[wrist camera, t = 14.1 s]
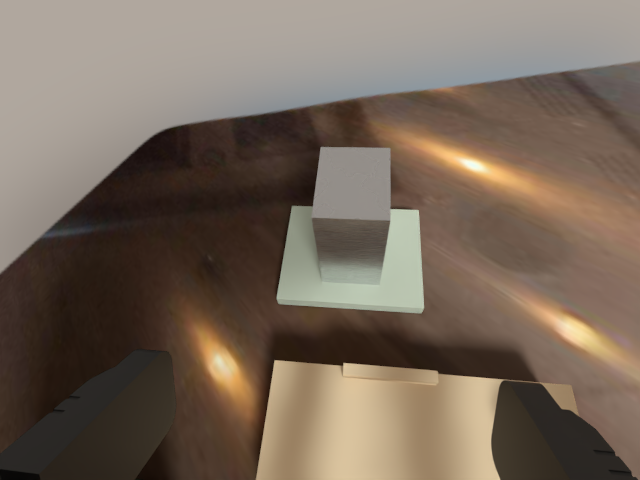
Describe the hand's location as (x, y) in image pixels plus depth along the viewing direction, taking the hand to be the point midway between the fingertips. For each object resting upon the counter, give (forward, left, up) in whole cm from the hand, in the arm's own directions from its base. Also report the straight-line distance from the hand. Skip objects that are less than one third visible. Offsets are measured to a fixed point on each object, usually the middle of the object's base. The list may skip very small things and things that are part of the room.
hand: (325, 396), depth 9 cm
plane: (+4, 0, -15) cm, 15 cm away
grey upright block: (0, +12, -14) cm, 18 cm away
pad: (0, +12, -15) cm, 19 cm away
